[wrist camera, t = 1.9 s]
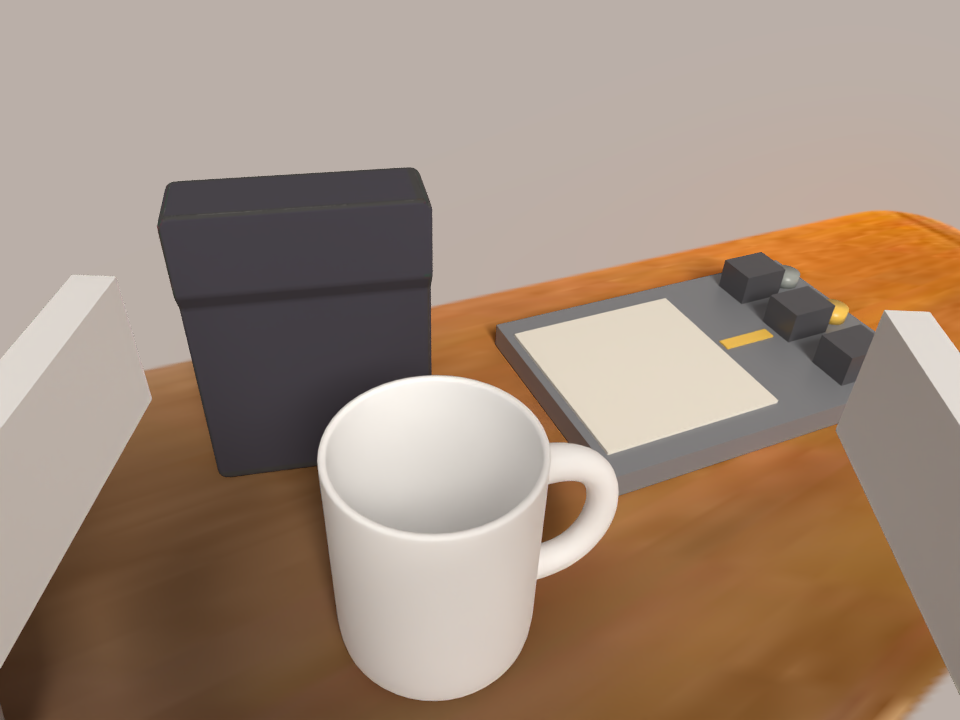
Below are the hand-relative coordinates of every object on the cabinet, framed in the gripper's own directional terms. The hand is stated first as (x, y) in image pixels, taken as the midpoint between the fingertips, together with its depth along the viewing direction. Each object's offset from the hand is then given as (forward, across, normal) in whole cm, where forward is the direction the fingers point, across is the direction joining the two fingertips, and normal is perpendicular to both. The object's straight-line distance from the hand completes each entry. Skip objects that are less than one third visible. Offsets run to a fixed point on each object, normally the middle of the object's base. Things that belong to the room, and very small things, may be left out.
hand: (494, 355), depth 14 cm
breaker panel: (+28, +13, -21) cm, 37 cm away
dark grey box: (+20, -9, -22) cm, 30 cm away
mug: (+10, 0, -22) cm, 24 cm away
